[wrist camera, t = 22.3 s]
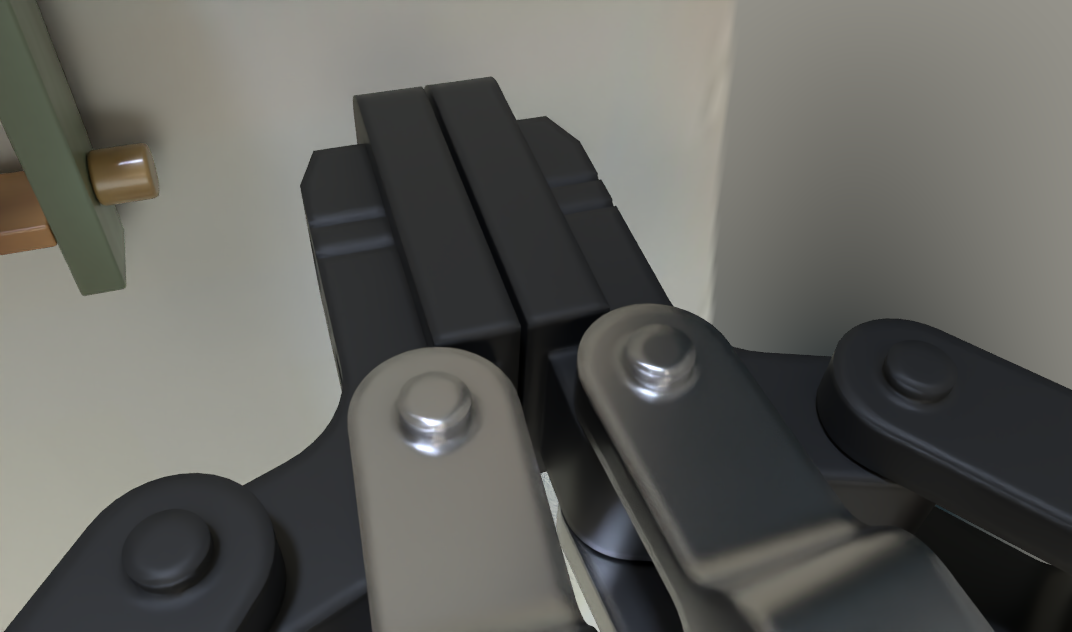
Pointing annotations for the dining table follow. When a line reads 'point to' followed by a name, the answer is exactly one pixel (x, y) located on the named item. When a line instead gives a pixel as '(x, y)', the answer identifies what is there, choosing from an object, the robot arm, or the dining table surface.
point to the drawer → (61, 162)
